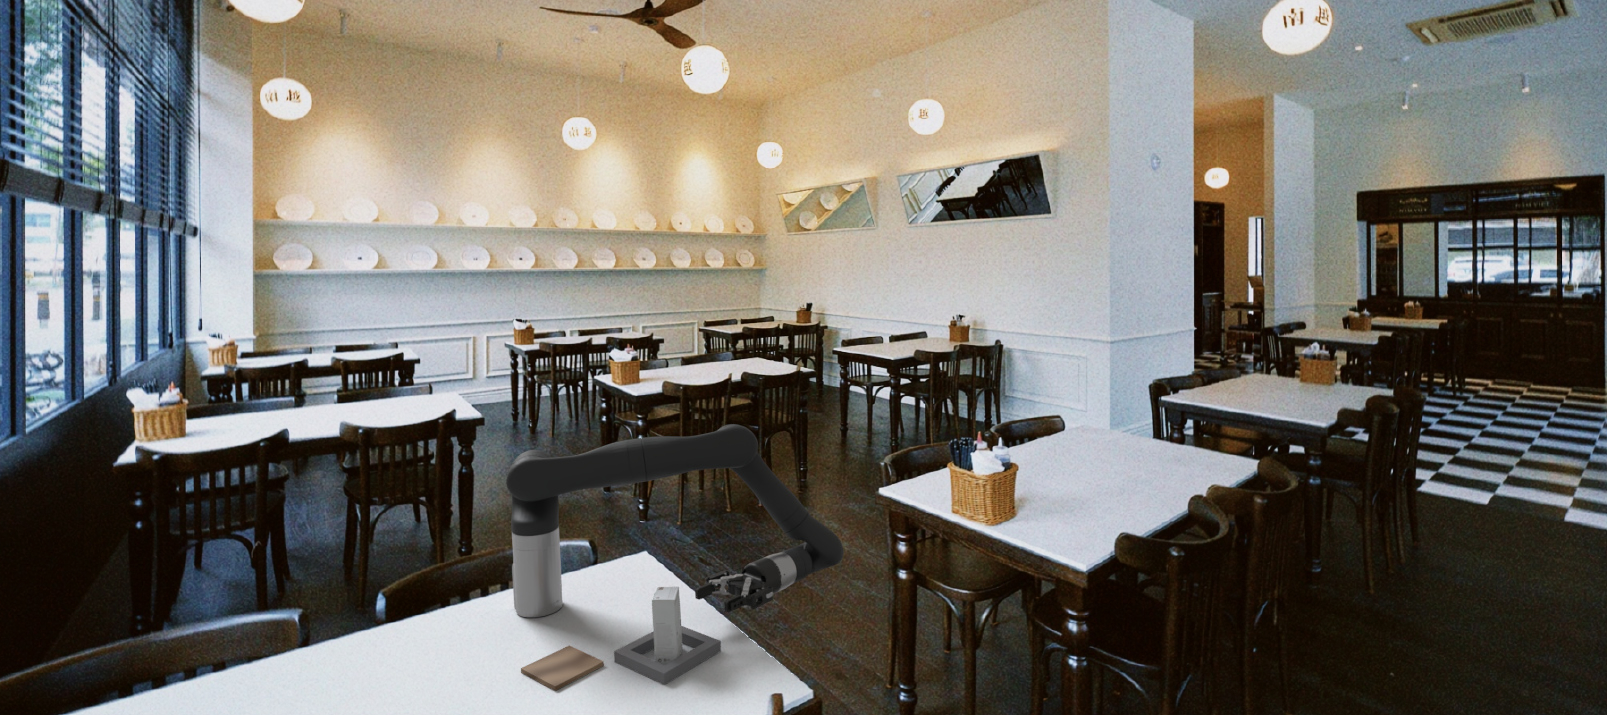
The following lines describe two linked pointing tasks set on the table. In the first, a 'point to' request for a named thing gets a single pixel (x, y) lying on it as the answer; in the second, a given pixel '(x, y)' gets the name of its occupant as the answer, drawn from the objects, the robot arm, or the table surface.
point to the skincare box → (667, 624)
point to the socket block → (666, 673)
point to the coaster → (562, 667)
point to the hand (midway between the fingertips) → (710, 600)
